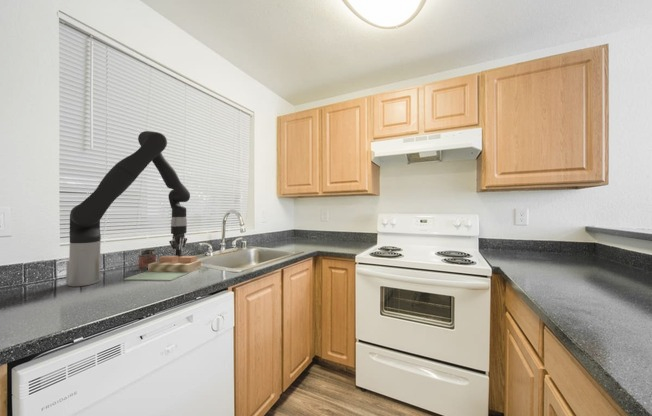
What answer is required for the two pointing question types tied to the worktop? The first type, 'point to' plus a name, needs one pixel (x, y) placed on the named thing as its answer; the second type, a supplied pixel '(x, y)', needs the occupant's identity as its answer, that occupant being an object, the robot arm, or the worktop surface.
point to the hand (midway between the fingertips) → (178, 256)
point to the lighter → (146, 258)
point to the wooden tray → (174, 266)
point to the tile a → (168, 258)
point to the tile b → (187, 259)
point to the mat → (157, 276)
